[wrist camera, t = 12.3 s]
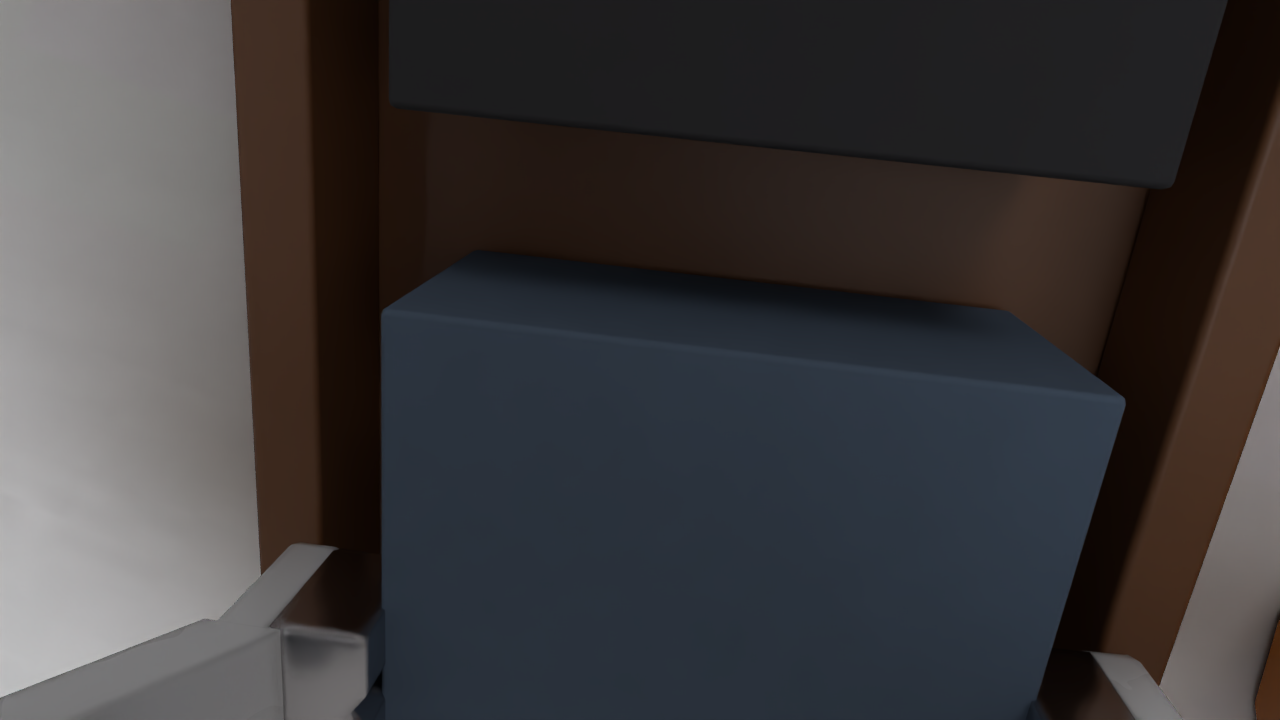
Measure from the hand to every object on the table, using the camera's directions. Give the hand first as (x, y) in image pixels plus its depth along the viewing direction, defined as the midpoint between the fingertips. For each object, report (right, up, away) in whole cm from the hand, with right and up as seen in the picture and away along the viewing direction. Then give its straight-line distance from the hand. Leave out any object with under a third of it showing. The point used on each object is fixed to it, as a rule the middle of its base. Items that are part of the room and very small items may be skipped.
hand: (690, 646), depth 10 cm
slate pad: (0, +1, +2) cm, 2 cm away
